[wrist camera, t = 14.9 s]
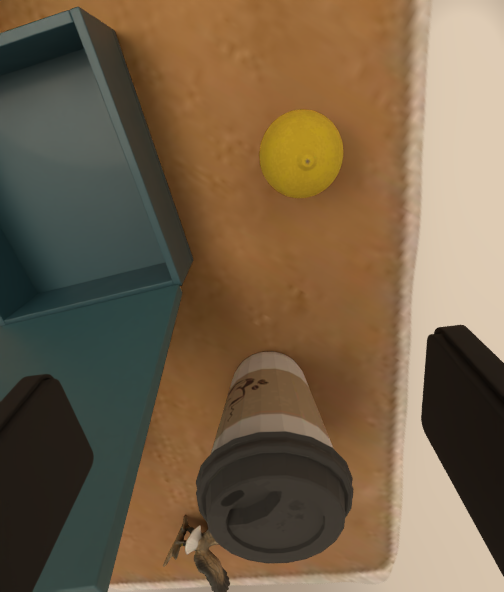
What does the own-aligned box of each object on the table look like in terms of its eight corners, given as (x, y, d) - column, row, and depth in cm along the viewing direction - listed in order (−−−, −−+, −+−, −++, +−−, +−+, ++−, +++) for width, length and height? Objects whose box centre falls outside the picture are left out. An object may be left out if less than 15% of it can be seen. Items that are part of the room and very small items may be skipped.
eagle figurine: (167, 548, 48) (227, 577, 48) (157, 581, 41) (228, 616, 41) (193, 492, 50) (252, 521, 50) (188, 515, 43) (256, 549, 42)
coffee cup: (266, 311, 34) (273, 435, 20) (346, 377, 37) (398, 522, 24) (191, 381, 38) (155, 526, 24) (270, 436, 41) (277, 590, 27)
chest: (-77, 93, 26) (-156, 85, 21) (114, 29, 25) (78, 6, 20) (38, 297, 34) (0, 328, 29) (193, 260, 32) (182, 285, 27)
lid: (-296, 641, 13) (-273, 647, 13) (95, 587, 11) (107, 596, 12) (-7, 327, 28) (0, 335, 28) (179, 283, 26) (183, 292, 27)
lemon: (247, 130, 27) (244, 133, 20) (317, 98, 26) (340, 88, 19) (274, 198, 29) (280, 223, 22) (339, 171, 28) (367, 187, 21)
